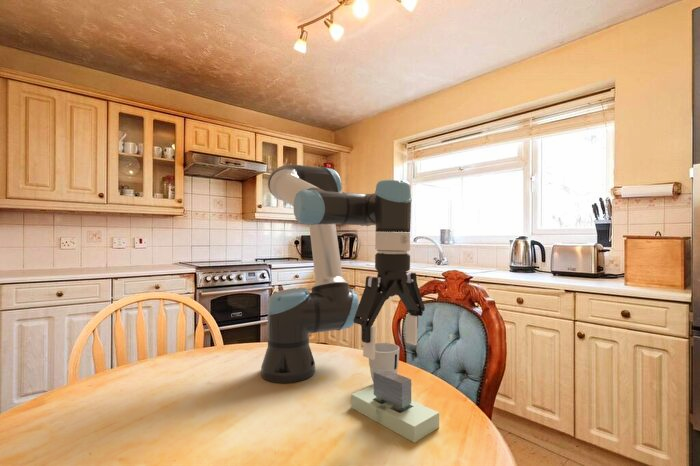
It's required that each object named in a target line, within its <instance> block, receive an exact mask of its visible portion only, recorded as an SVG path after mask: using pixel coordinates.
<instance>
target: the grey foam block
mask: <svg viewBox="0 0 700 466" xmlns="http://www.w3.org/2000/svg"><path fill="white" fill-rule="evenodd" d="M373 377H374V383H373V385H374V395H375V396H376V402H378V403H380V404H384V403H386V402H390V403H392V404H394V411H396V412H398V413H402V412H404V411H406V410H408V409H409V404H411V400H412V379H411V378H409V377H406V376H404V375H402V374H398V373H397V374H396V373H393V372H391V371H388V370H385V369H380V370H378V371H375V372H373Z"/></svg>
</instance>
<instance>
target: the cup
mask: <svg viewBox="0 0 700 466" xmlns="http://www.w3.org/2000/svg"><path fill="white" fill-rule="evenodd" d="M399 361H400V346H399V345H397V344H394V343H390V342H375V359H373V360H372V359H369V358H368V363H369V364H368V365H369V371H370V376H371V380H372V384H374V377H373V372H375V371H378V370H380V369H385V370H388V371H391V372H393V373H396V374H398V372H399V371H398V370H399V363H400V362H399Z"/></svg>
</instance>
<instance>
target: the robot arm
mask: <svg viewBox="0 0 700 466" xmlns="http://www.w3.org/2000/svg"><path fill="white" fill-rule="evenodd" d="M268 176H269V177H268V179H267V188H268V190H269V192H270V193H271V195H272V196H273V197H274V198H276V199H278V200H279V201H282V202H283V201H284V202H286V203H287V204H289V206H290V205H291V206H292V207H293V215H294V218H295V221H297V222H298V223H299V224H304V225H305V224H307V225H309V226H308V227H309V233H310V234H309V236H310V243H311V245H310V246H311V252H312V253H311V254H312V261H313V262H312V263H313V271H314V279H315V280H314V281H315V282H314V283H313V285H312V286H311V292H310V290H309V289H308V288H305V287H298V288H296V287H295V288H294V287H293V288H288V289H282V290H280V291H276V292H274V293H272V294H271V295H270V296H269V298H268V301H267V303H268V304H267V309H266V312H267V313H266V314H267V349H265V350H266V351H265V354H264V356H263V361H262V364H261V367H260V371H261V372H260V375H261V377H262V378H263V380H266V381H268V382H271V383H279V384H288V383H297V382H300V381H305V380H307V379H310V378H311V377H312V376H313V375H314V374H315V372H316V362H315V359H314V356H313V353H312V350H311V347H310V334H316V333H324V332H325V333H326V332H332V331H342V330H345V329H349V328H352V326H354V325H355V324H357V325H359V326H361V341H362V343H363V344H362V345H363V346H362V348H363V349H362V356H363V357H365V358H367V359H368V360H369V359H372V360H373V359H375V343H376V326H374V322H375V321H376V319H377V318H378V316H379V313H380V312H381V310H382V308H383V306H384V304H385V302H386V301H387V300H389V299H390V297H394V296H398V297H399V299H400V300H401V302H402V304H403V305H404V307H405V309H406V310H407V312H408V313H407V314H405V343H407V344H409V345H413V346H417V345H418V328H419V317H422V316H423V314H424V312H425V309H426V308H425V305H424V304H425V303H424V301H423V297H422V294H421V292H420V288H419V284H418V279H417V273H416V272H410V269H411V255H410V253H408V252H410V250H411V224H412V223H411V221H412V220H411V219H412V217H411V216H412V213H411V212H412V194H411V193H412V192H411V185H410V182H408V181H406V180H403V179H384V180H379V181H378V182H377V183H376V185H375V191H374V193H357V192H356V193H355V192H342V190H343V189H342V188H343V187H342V180H341V179H342V178H341V177H340V175H339V172H337V171H336V170H334V169H333V168H330V167H329V168H328V167H325V166H311V165H302V164H285V165H282V166H279V167H276V168H275V169H274V170H273V171H272V172H271V173H270V175H268ZM336 225H340V226H341V225H343V226H361V227H363V226H365V227H369V226H375V236H374V237H375V240H374V241H375V244H374V245H375V246H374V250H375V251H376V254H375V255H374V259H375V260H374V261H375V262H374V269H375V270H376V272H377V276H370V275H368V276H366V277H365V284H364V289H363V292H362V295H361V298H360V301H359V296H358V295H357V292H356V291H355V289H351V288H350V284H349V282H348V281H347V280H345V279H344V278H343V269H342V262H341V255H340V248H339V247H340V246H339V241H338V240H339V239H338V233H337V226H336Z"/></svg>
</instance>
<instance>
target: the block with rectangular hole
mask: <svg viewBox="0 0 700 466" xmlns="http://www.w3.org/2000/svg"><path fill="white" fill-rule="evenodd" d="M350 408H351V409H353V410H355V411H357V412H359V413H360V414H362V415H364V416H365V417H367V418H369V419H371V420H373V421H374V422H376V423H378V424H380V425H381V426H384V427H385V428H388V429H389V430H391V431H393V432H395V433H396V434H398V435H400V436H401V437H403V438H405V439H406V440H408V441H411V442H413V443H416V442H418V441H420V440H421V439H422V438H424V437H426V436H427V435H430V434H431V433H433V432H434V431H435V430H437V429H439V428H440V411H437V410H434V409H432V408H430V407H427V406H425V405H423V404H421V403H419V402H416V401H415V400H413V399H411V404H409V409H408V410H406V411H404V412H402V413H398V412H396V411H394V404H392V403H390V402H386V403H384V404H380V403H378V402H376V396H375V395H374V384H372V385H371V386H368V387H366V388H362V389H361V390H358V391H355V392H353V393H351V394H350Z"/></svg>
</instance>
